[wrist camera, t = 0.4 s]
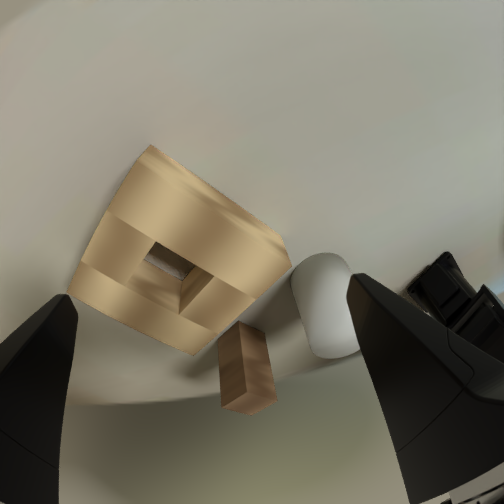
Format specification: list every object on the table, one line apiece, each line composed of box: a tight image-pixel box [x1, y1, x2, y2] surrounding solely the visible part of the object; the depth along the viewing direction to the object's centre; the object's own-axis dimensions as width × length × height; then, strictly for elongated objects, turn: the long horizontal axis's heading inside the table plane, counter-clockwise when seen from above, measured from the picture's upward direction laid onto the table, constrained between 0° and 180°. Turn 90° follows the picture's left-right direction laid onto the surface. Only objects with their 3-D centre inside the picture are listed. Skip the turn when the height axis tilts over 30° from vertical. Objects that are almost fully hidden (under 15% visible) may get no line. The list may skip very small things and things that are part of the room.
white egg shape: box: [290, 253, 360, 359], centre depth 23 cm, size 6×6×7 cm
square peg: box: [218, 321, 277, 415], centre depth 26 cm, size 3×3×8 cm
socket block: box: [67, 145, 292, 356], centre depth 21 cm, size 12×12×4 cm
